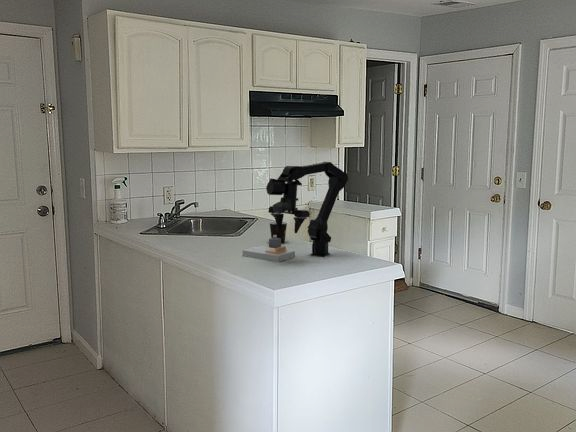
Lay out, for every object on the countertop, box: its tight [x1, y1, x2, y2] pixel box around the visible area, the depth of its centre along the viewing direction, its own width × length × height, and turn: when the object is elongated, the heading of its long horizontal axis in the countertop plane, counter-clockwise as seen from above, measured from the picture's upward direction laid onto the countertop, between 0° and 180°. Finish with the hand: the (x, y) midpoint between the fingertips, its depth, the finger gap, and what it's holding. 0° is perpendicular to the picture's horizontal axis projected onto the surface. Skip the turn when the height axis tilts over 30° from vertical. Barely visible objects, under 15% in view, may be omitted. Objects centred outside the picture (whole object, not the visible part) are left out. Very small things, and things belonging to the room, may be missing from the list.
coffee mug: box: [269, 221, 288, 245], centre depth 274 cm, size 12×9×10 cm
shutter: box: [265, 245, 287, 254], centre depth 243 cm, size 6×6×2 cm
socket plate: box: [241, 245, 296, 263], centre depth 245 cm, size 20×12×2 cm, turn 54°
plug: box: [268, 235, 282, 248], centre depth 255 cm, size 4×4×8 cm
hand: (287, 231), depth 238 cm, fingers open, 9 cm apart
